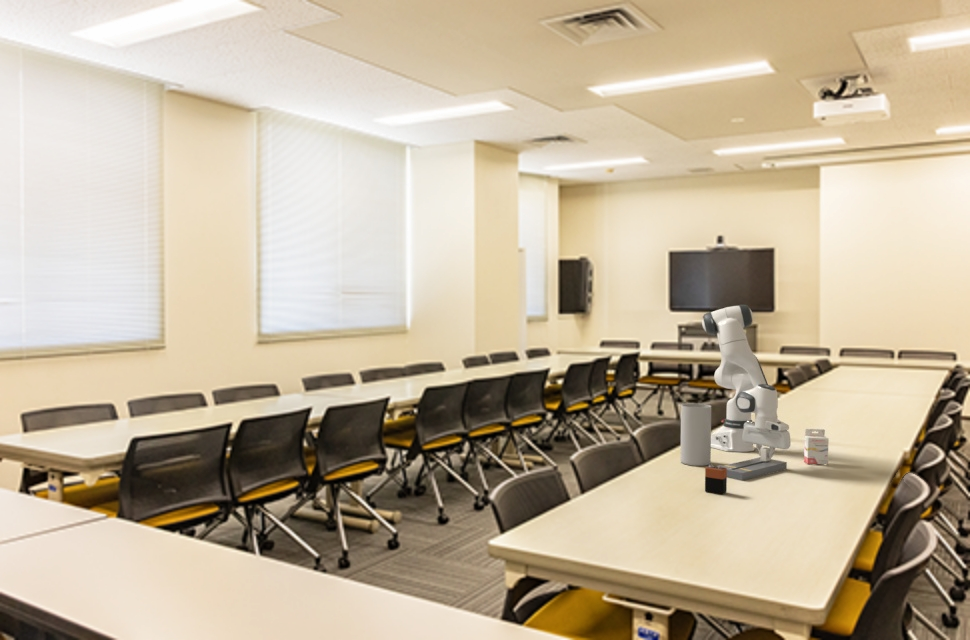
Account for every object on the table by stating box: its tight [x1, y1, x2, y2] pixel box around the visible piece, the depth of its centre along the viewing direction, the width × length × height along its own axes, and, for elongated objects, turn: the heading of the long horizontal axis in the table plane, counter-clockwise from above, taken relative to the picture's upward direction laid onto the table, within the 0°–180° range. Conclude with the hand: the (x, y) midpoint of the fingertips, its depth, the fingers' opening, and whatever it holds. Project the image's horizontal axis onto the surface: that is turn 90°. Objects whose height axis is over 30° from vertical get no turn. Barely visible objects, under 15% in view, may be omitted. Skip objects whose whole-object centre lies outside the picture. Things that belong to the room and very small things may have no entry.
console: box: [722, 456, 788, 482], centre depth 303 cm, size 12×32×3 cm, turn 128°
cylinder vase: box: [680, 403, 712, 467], centre depth 319 cm, size 12×12×25 cm
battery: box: [704, 464, 728, 495], centre depth 271 cm, size 4×7×10 cm, turn 54°
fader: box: [759, 446, 772, 463], centre depth 309 cm, size 2×4×7 cm, turn 128°
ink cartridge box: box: [803, 428, 830, 465], centre depth 319 cm, size 9×5×15 cm, turn 84°
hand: (765, 456), depth 309 cm, fingers closed on fader, 2 cm apart
